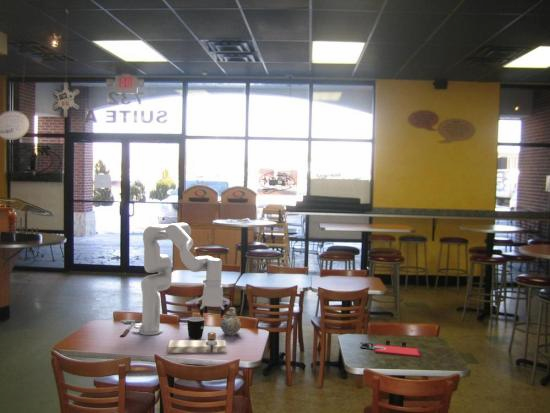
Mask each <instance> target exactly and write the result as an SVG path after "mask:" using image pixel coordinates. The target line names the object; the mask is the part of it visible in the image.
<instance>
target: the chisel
mask: <svg viewBox="0 0 550 413" xmlns="http://www.w3.org/2000/svg"><path fill="white" fill-rule="evenodd" d="M119 322H123V324H124V325H129V326H128V327H127V328H125V330H124V331H123V333H122V334H121V335H119V338H125V337H126V336H127V335H128V334H129V332H130V330H131V329H132V327H134V324H137V323H142V320H138V319H121V320H119Z"/></svg>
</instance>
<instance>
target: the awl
mask: <svg viewBox="0 0 550 413" xmlns="http://www.w3.org/2000/svg"><path fill="white" fill-rule="evenodd" d="M216 335H217V334H216V332H208V333H207V340H208V342H207V345H215V342H216V340H217V337H216Z"/></svg>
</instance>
